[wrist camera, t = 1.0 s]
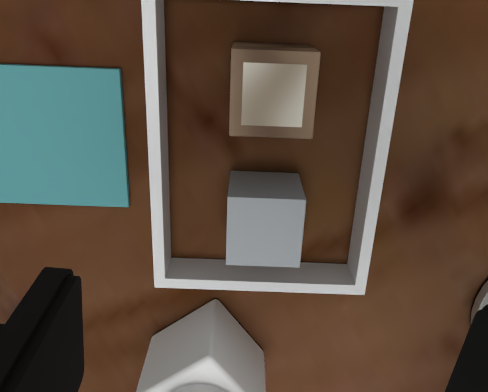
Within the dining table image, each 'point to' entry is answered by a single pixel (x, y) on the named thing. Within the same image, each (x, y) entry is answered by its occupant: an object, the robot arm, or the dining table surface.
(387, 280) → the dining table surface
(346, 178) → the dining table surface
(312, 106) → the walnut box
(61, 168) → the teal mat
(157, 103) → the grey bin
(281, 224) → the slate box
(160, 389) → the medicine bottle
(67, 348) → the robot arm
